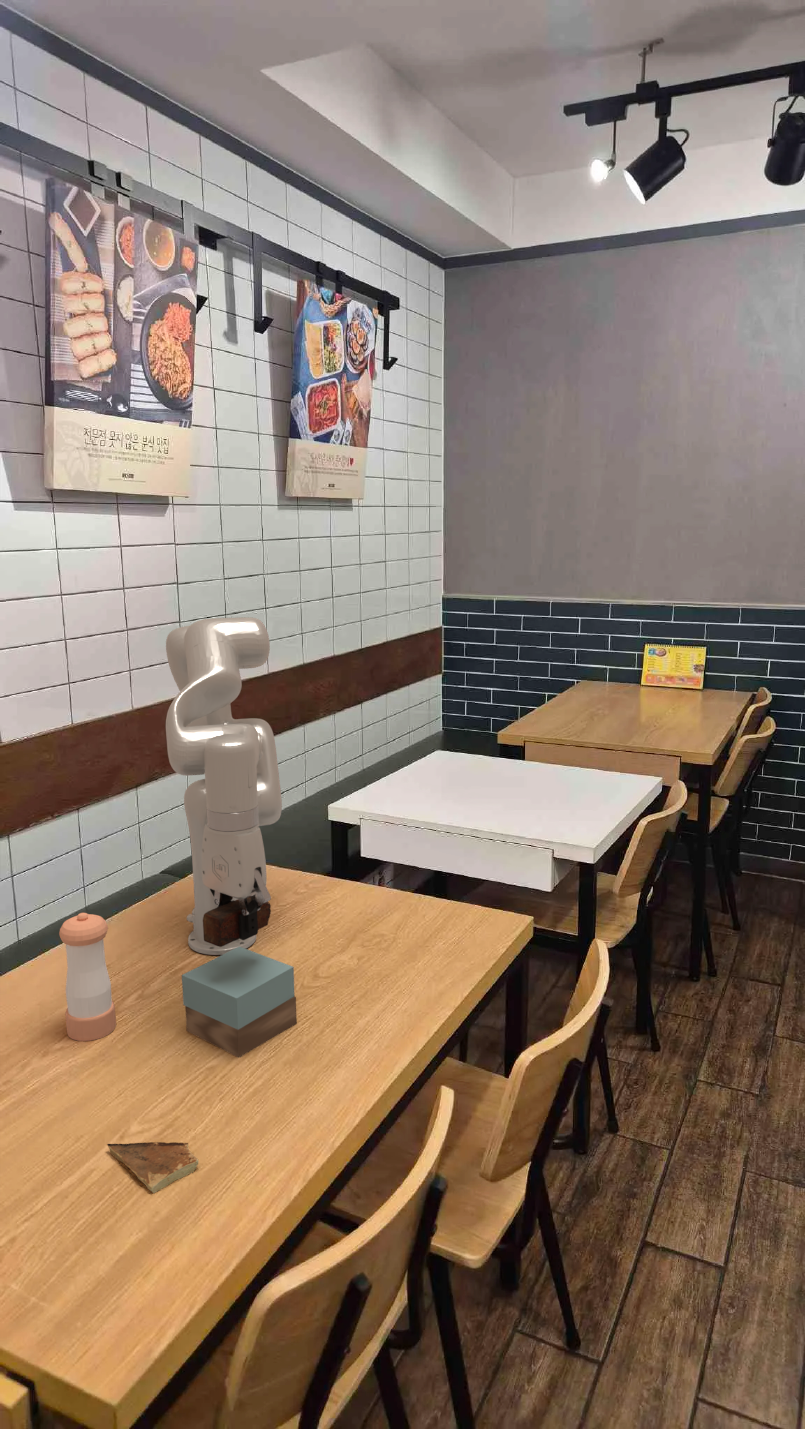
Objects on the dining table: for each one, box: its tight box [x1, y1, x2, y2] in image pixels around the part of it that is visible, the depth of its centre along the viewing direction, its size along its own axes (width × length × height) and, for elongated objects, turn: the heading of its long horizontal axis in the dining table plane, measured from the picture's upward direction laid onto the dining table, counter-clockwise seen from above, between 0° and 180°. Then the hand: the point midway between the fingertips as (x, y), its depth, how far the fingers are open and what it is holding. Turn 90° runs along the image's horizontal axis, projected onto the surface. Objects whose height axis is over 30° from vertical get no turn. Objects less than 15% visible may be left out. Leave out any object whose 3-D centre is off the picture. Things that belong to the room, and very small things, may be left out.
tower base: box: [184, 996, 297, 1058], centre depth 145 cm, size 12×12×5 cm
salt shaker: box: [58, 912, 117, 1042], centre depth 143 cm, size 7×7×19 cm
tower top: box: [181, 946, 296, 1030], centre depth 143 cm, size 12×12×5 cm
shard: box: [106, 1141, 199, 1194], centre depth 115 cm, size 11×8×2 cm
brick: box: [203, 897, 272, 947], centre depth 141 cm, size 11×4×5 cm, turn 144°
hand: (238, 931), depth 142 cm, fingers closed on brick, 4 cm apart
